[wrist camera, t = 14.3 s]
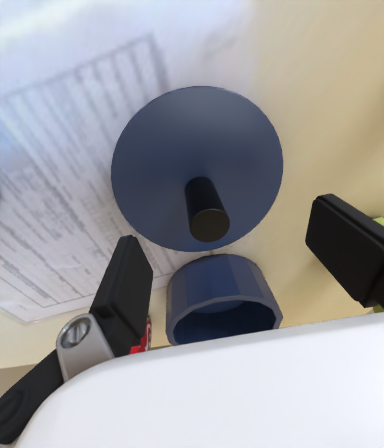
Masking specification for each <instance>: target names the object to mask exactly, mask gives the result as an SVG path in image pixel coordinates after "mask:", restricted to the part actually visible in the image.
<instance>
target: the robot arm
mask: <svg viewBox="0 0 384 448" xmlns="http://www.w3.org/2000/svg"><path fill="white" fill-rule="evenodd" d="M305 242H306V245H307V246H308V248H309V249H310V250H311V251H312V252H313V253H314V254H315V256H316V257H317V258H318V259H319V260H320V261H321V263H322V264H323V265H324V266H325V267H326V268H327V270H328V271H329V272H330V273H331V274H332V275H333V276H334V278H335V279H336V280H337V281H338V282H339V283H340V285H341V286H342V287H343V288H344V289H345V290H346V292H347V293H348V294H349V295H350V296H351V297H352V298H353V299H354V300H355V301H359V303H360V304H361V305H362V306H363V307H364V308H368V307H374V306H378V304H379V305H380V306H381V307H382V308H383V312H380V313H373V314H367V315H361V316H355V317H348V318H342V319H336V320H329V321H323V322H317V323H311V324H304V325H298V326H292V327H286V328H280V329H274V330H268V331H262V332H256V333H249V334H243V335H237V336H231V337H225V338H219V339H214V340H208V341H202V342H196V343H190V344H184V345H178V346H172V347H167V348H162V349H156V350H152V351H146V352H140V353H135V354H131V355H130V352H131V347H134V346H140V345H141V338H143V337H144V336H145V332H146V324H147V317H148V310H149V302H150V295H151V288H152V280H153V270H152V268H151V266H150V264H149V262H148V260H147V258H146V256H145V254H144V252H143V250H142V248H141V246H140V244H139V242H138V240H137V238H136V237H133V236H132V235H128V236H123V237H120V239H119V241H118V243H117V246H116V248H115V251H114V253H113V256H112V258H111V260H110V263H109V265H108V267H107V269H106V271H105V274H104V276H103V279H102V281H101V284H100V286H99V288H98V291H97V293H96V296H95V298H94V301H93V303H92V305H91V308H90V310H89V313H84V314H80V315H78V316H76V317H74V318H73V319H71V320H70V321H69V322H68V323H67V324H66V325H65V326H64V327H63V328H62V330H61V331H60V333H59V335H58V337H57V340H56V349H55V350H54V351H52V352H51V353H50V354H49V355H48V356H47V357H45V358H44V359H43V360H42V361H41V362H40V363H39V364H37V365H36V366H35V367H34V368H33V369H32V370H31V371H29V372H28V373H27V374H26V375H25V376H24V377H23V378H21V379H20V380H19V381H18V382H17V383H16V384H15V385H13V386H12V387H11V388H10V389H9V390H8V391H7V392H6V393H5V394H4V395H3V396H2V397H1V398H0V448H384V226H383V225H381V224H380V223H378V222H376V221H375V220H373V219H372V218H370V217H368V216H367V215H365V214H364V213H362V212H361V211H359V210H357V209H356V208H354V207H353V206H351V205H349V204H348V203H346V202H345V201H343V200H341V199H340V198H338V197H337V196H335V195H334V194H326V195H321V196H318V197H317V198H316V200H314V201H313V204H312V209H311V214H310V219H309V224H308V229H307V234H306V239H305Z"/></svg>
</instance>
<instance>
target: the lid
mask: <svg viewBox="0 0 384 448" xmlns="http://www.w3.org/2000/svg"><path fill="white" fill-rule="evenodd" d="M282 174H283V156H282V149H281V145H280V141H279V138H278V136H277V133H276V131H275V129H274V127H273V125H272V124H271V122H270V121H269V119H268V118H267V116H266V115H265V114H264V113H263V112H262V111H261V110H260V109H259V108H258V107H257V106H256V105H254V104H253V103H252V102H251V101H249V100H248V99H246V98H244V97H243V96H241V95H239V94H237V93H235V92H232V91H229V90H226V89H223V88H217V87H211V86H193V87H187V88H181V89H177V90H174V91H171V92H168V93H166V94H164V95H162V96H160V97H158V98H156V99H154V100H152V101H151V102H150V103H148V104H147V105H146V106H144V107H143V108H142V109H140V111H139V112H138V113H137V114H136V115H135V116H134V117H133V118H132V119H131V120H130V121H129V123H128V124H127V126H126V127H125V128H124V130H123V132H122V134H121V136H120V138H119V140H118V142H117V144H116V148H115V151H114V154H113V159H112V165H111V180H112V188H113V192H114V196H115V199H116V202H117V204H118V206H119V209H120V210H121V212H122V214H123V215H124V217H125V218H126V220H127V221H128V222H129V224H130V225H131V226H132V227H133V228H134V229H135V230H136V231H137V232H138V233H140V234H141V235H142V236H144V237H145V238H147V239H148V240H150V241H151V242H153V243H155V244H158V245H160V246H162V247H165V248H168V249H173V250H177V251H185V252H200V251H208V250H213V249H217V248H220V247H223V246H226V245H228V244H230V243H232V242H235V241H236V240H238V239H240V238H241V237H243V236H245V235H246V234H247V233H249V232H250V231H251V230H252V229H253V228H254V227H256V226H257V225H258V224H259V223H260V221H261V220H262V219H263V218H264V217H265V215H266V214H267V213H268V211H269V210H270V208H271V206H272V205H273V203H274V201H275V199H276V196H277V194H278V191H279V188H280V184H281V180H282Z"/></svg>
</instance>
